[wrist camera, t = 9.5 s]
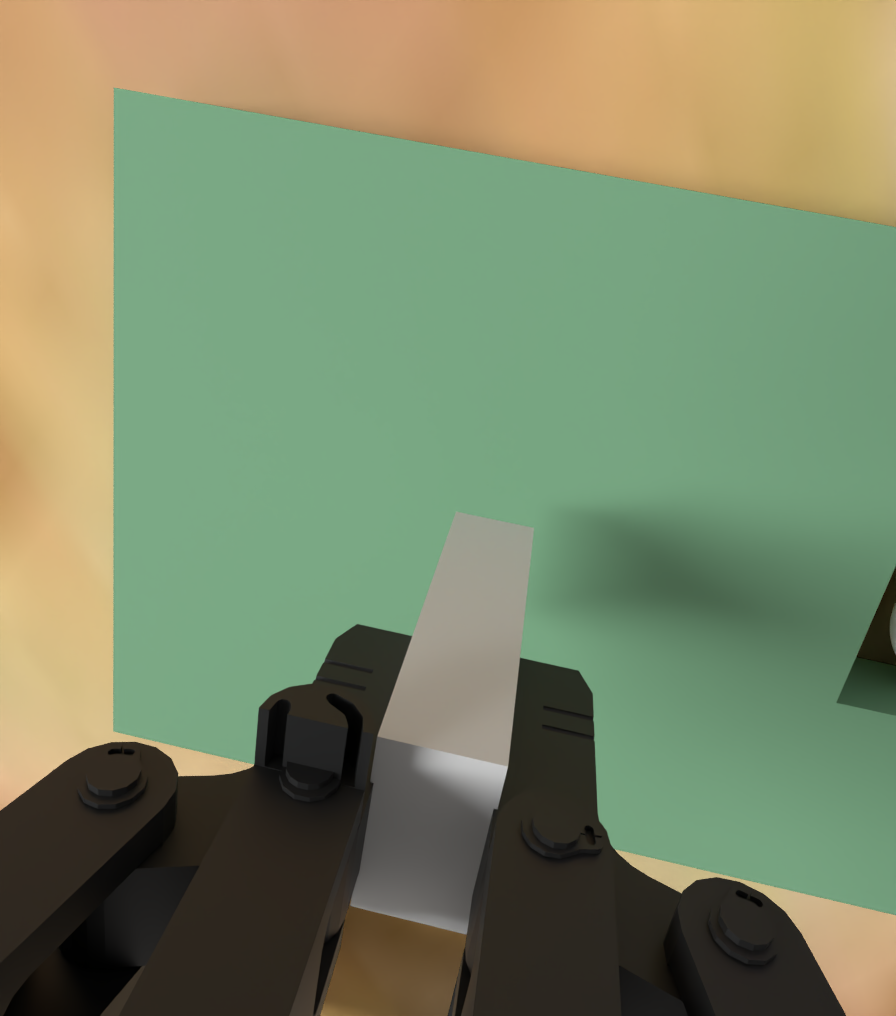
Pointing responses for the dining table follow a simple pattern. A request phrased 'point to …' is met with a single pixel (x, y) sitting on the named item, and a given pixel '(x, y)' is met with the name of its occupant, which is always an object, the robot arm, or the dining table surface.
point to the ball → (893, 628)
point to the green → (515, 461)
